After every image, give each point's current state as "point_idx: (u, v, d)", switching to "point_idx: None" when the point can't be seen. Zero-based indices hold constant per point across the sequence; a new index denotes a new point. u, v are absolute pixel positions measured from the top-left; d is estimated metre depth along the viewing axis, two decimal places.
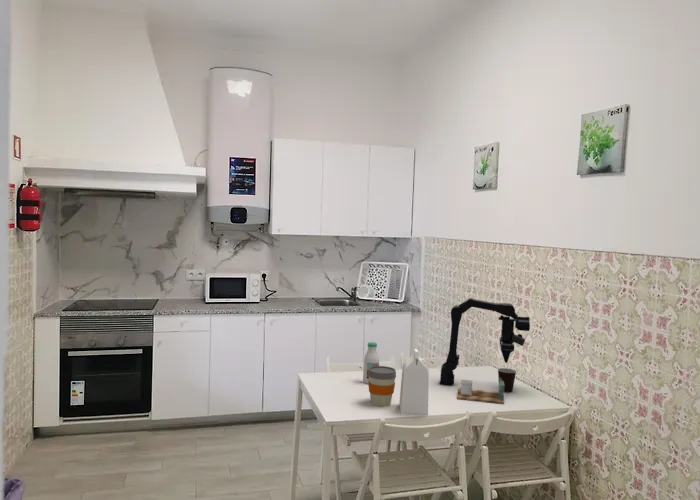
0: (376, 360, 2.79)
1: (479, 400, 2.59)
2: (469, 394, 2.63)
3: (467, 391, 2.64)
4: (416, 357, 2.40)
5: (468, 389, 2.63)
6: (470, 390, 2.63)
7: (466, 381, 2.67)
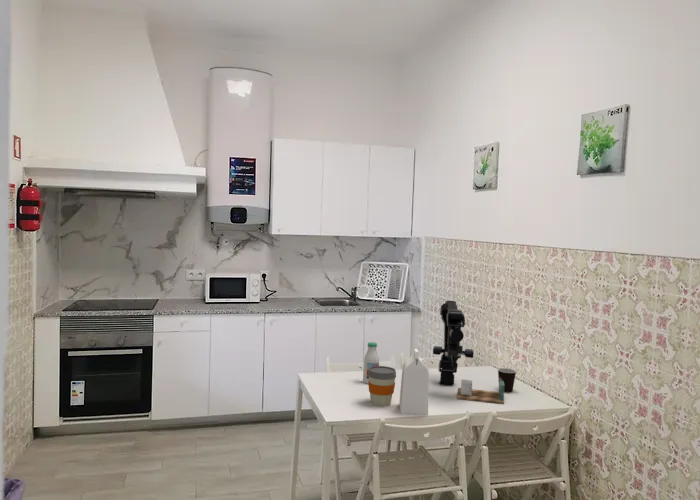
0: (376, 360, 2.79)
1: (479, 400, 2.59)
2: (469, 394, 2.63)
3: (467, 391, 2.64)
4: (416, 357, 2.40)
5: (468, 389, 2.63)
6: (470, 390, 2.63)
7: (466, 381, 2.67)
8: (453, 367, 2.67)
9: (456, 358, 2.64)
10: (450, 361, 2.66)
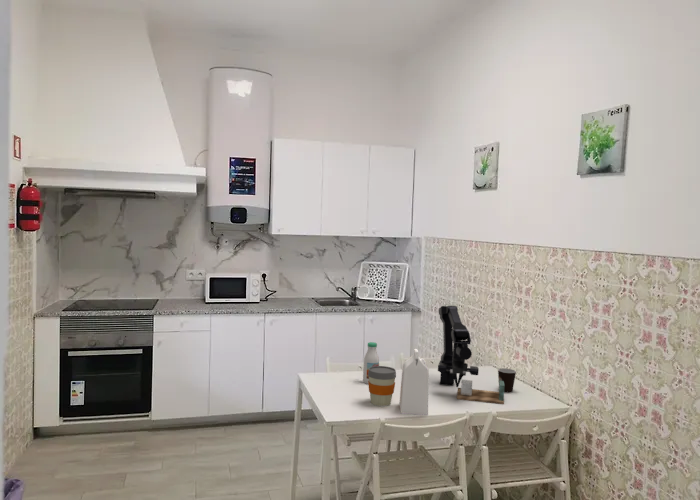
0: (376, 360, 2.79)
1: (479, 400, 2.59)
2: (469, 394, 2.63)
3: (468, 391, 2.64)
4: (416, 357, 2.40)
5: (468, 389, 2.63)
6: (470, 390, 2.63)
7: (466, 381, 2.67)
8: (458, 384, 2.66)
9: (461, 375, 2.64)
10: (455, 378, 2.66)
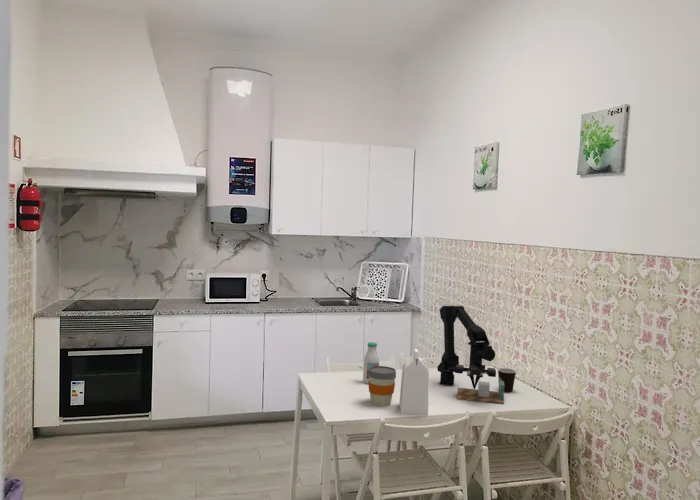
0: (376, 360, 2.79)
1: (479, 400, 2.59)
2: (486, 396, 2.62)
3: (485, 392, 2.62)
4: (416, 357, 2.40)
5: (485, 391, 2.62)
6: (487, 392, 2.62)
7: (483, 383, 2.65)
8: (475, 386, 2.65)
9: (478, 377, 2.63)
10: (472, 380, 2.64)
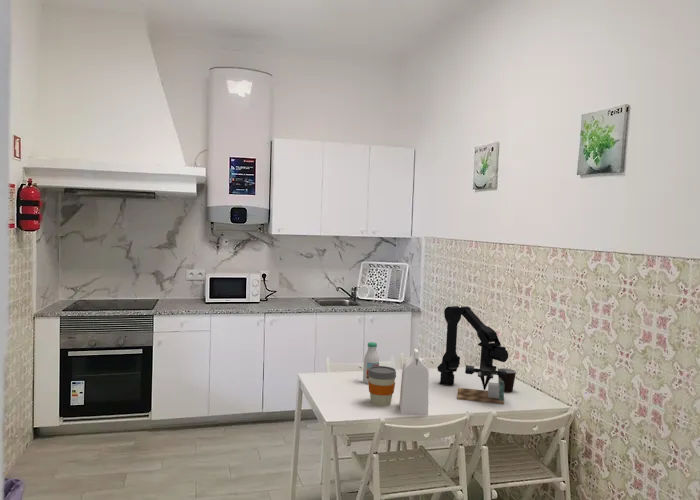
0: (376, 360, 2.79)
1: (479, 400, 2.59)
2: (497, 397, 2.61)
3: (495, 393, 2.61)
4: (416, 357, 2.40)
5: (496, 392, 2.61)
6: (498, 393, 2.61)
7: (493, 384, 2.64)
8: (485, 387, 2.64)
9: (488, 378, 2.62)
10: (483, 381, 2.63)
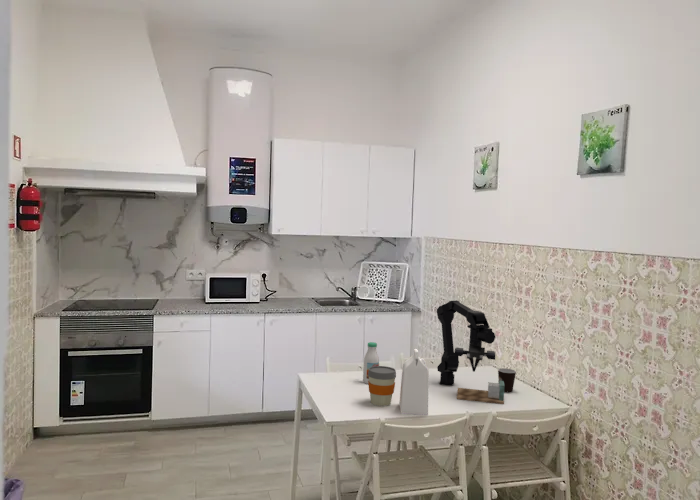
0: (376, 360, 2.79)
1: (479, 400, 2.59)
2: (497, 397, 2.61)
3: (495, 393, 2.61)
4: (416, 357, 2.40)
5: (496, 392, 2.61)
6: (498, 393, 2.61)
7: (493, 384, 2.64)
8: (475, 369, 2.66)
9: (478, 360, 2.64)
10: (472, 363, 2.66)
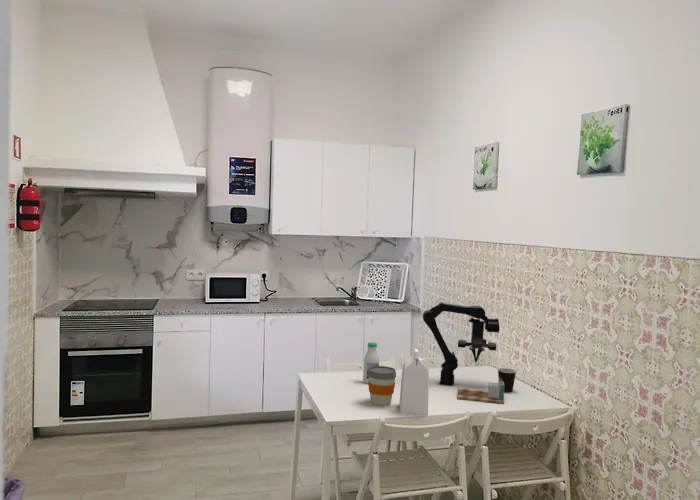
0: (376, 360, 2.79)
1: (479, 400, 2.59)
2: (497, 397, 2.61)
3: (495, 393, 2.61)
4: (416, 357, 2.40)
5: (496, 392, 2.61)
6: (498, 393, 2.61)
7: (493, 384, 2.64)
8: (477, 359, 2.84)
9: (480, 351, 2.82)
10: (474, 354, 2.83)
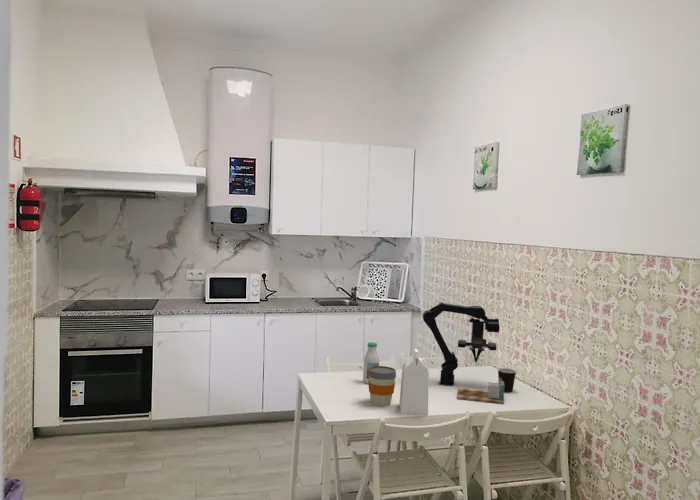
0: (376, 360, 2.79)
1: (479, 400, 2.59)
2: (497, 397, 2.61)
3: (495, 393, 2.61)
4: (416, 357, 2.40)
5: (496, 392, 2.61)
6: (498, 393, 2.61)
7: (493, 384, 2.64)
8: (477, 359, 2.84)
9: (480, 351, 2.82)
10: (474, 354, 2.83)
